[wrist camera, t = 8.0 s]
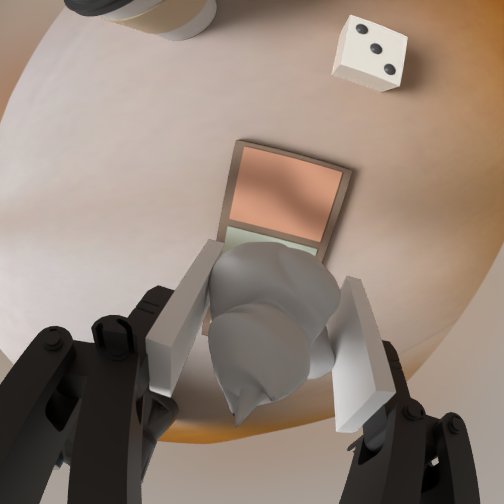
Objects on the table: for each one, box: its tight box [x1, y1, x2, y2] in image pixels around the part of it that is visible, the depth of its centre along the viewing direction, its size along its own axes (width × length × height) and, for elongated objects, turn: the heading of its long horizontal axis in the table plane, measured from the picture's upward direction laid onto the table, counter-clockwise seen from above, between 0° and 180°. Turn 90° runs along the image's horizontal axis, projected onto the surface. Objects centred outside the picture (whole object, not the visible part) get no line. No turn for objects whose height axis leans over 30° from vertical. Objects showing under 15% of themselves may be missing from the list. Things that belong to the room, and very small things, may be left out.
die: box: [332, 15, 408, 92], centre depth 17 cm, size 5×5×5 cm
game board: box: [202, 140, 352, 336], centre depth 29 cm, size 24×11×1 cm, turn 168°
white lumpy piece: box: [208, 242, 341, 428], centre depth 10 cm, size 5×7×8 cm
